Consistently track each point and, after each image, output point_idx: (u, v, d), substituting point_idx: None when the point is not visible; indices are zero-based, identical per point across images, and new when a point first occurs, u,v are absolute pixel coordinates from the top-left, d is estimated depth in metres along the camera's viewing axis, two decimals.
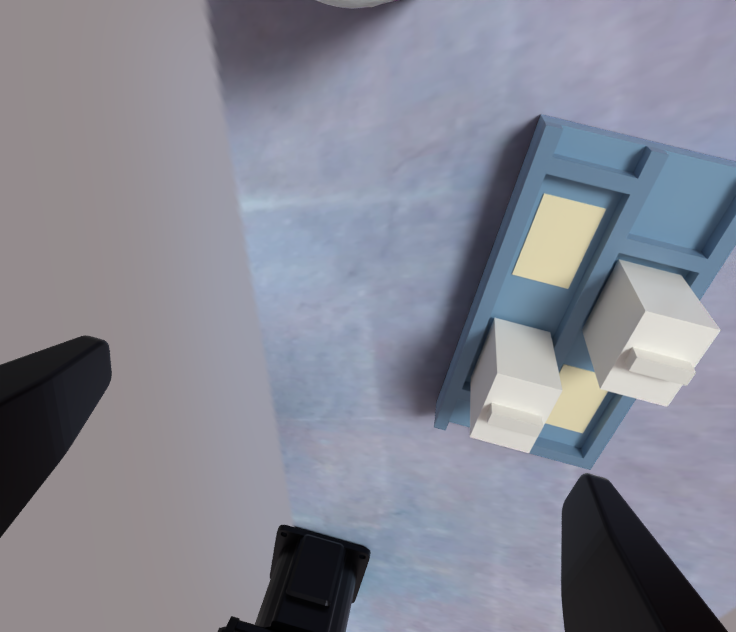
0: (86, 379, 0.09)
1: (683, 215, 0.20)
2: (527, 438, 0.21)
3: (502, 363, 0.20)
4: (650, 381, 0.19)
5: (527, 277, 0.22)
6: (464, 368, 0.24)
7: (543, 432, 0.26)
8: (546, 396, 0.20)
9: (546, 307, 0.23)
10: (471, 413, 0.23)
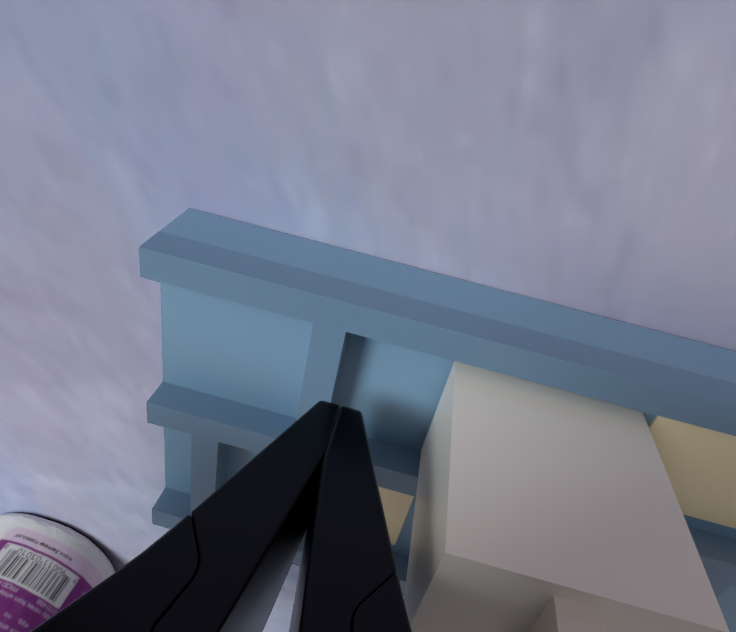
0: None
1: (257, 340, 0.11)
2: None
3: None
4: None
5: (399, 528, 0.13)
6: None
7: None
8: None
9: None
10: None
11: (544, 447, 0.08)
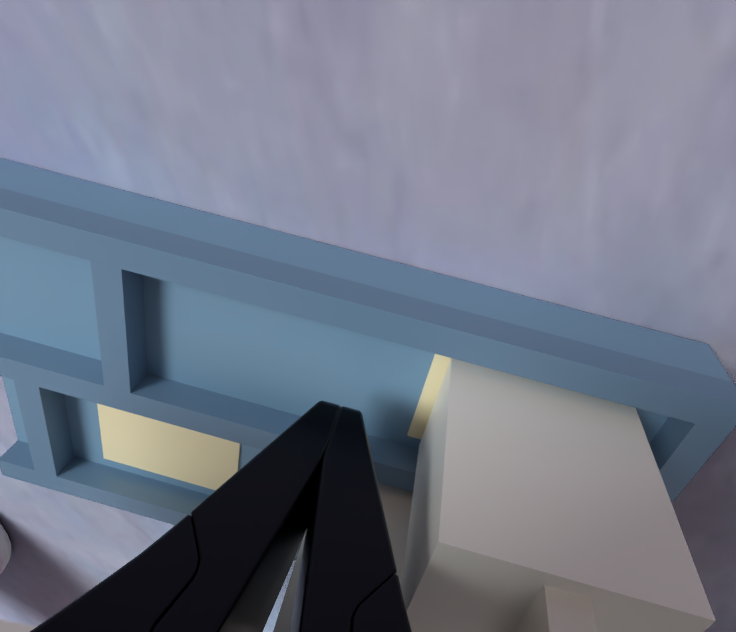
0: None
1: (64, 285, 0.11)
2: None
3: None
4: None
5: None
6: None
7: None
8: None
9: None
10: None
11: (537, 442, 0.08)
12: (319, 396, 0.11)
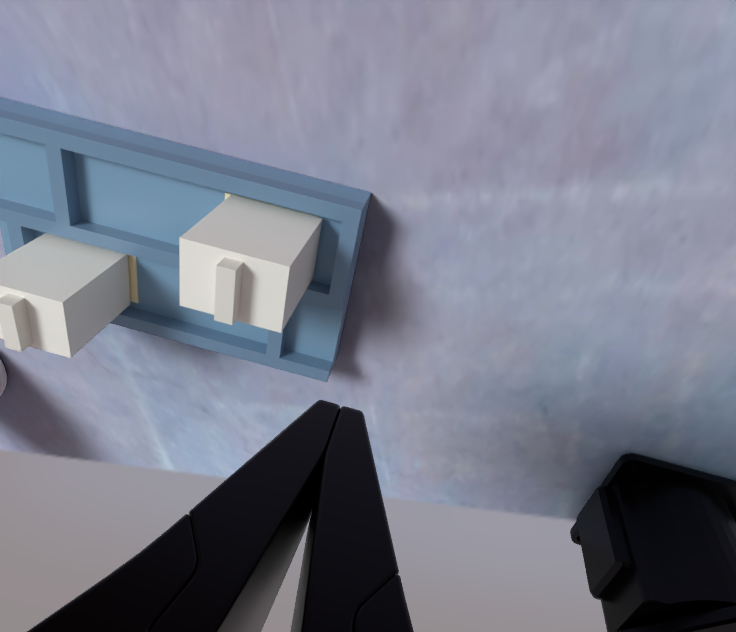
0: None
1: (34, 165, 0.20)
2: (43, 305, 0.18)
3: None
4: (259, 288, 0.16)
5: (137, 290, 0.23)
6: (238, 351, 0.23)
7: (328, 261, 0.20)
8: None
9: (162, 271, 0.22)
10: None
11: (253, 222, 0.18)
12: (173, 227, 0.21)
